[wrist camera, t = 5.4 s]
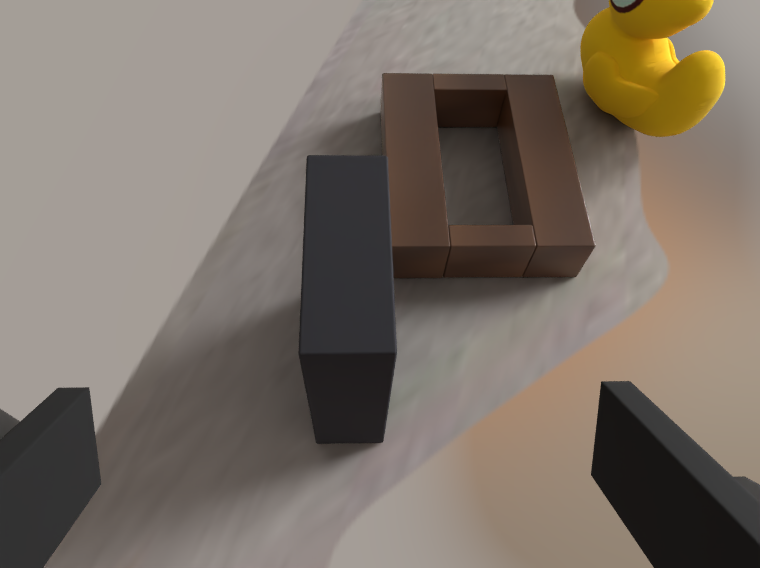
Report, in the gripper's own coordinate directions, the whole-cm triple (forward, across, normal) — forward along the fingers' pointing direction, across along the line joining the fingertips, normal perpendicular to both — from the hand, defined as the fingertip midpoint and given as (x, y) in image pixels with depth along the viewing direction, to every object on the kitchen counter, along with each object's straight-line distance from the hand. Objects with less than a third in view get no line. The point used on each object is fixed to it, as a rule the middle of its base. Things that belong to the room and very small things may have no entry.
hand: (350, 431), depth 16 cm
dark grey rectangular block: (+13, 0, -3) cm, 13 cm away
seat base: (+20, +7, +4) cm, 22 cm away
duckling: (+26, +17, +9) cm, 32 cm away
